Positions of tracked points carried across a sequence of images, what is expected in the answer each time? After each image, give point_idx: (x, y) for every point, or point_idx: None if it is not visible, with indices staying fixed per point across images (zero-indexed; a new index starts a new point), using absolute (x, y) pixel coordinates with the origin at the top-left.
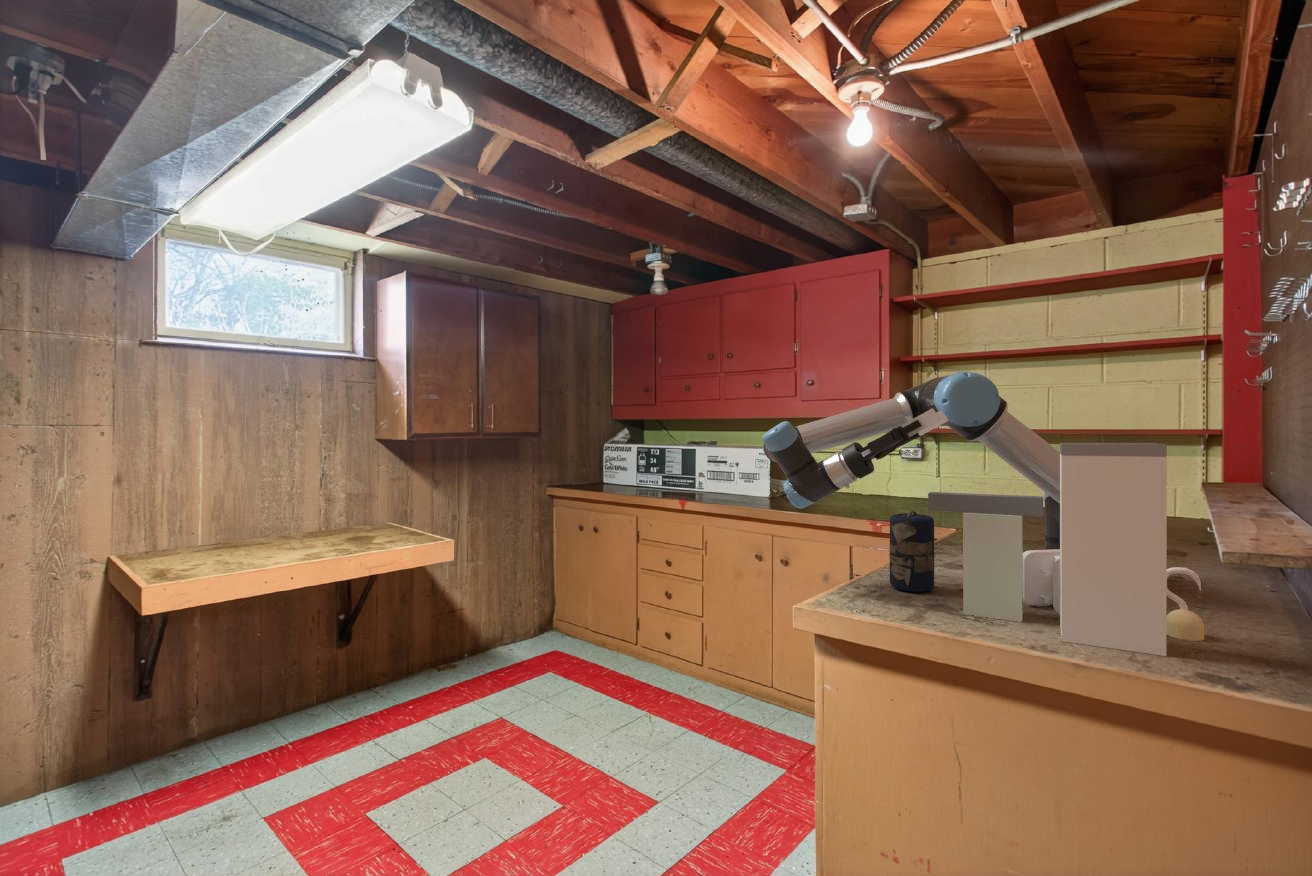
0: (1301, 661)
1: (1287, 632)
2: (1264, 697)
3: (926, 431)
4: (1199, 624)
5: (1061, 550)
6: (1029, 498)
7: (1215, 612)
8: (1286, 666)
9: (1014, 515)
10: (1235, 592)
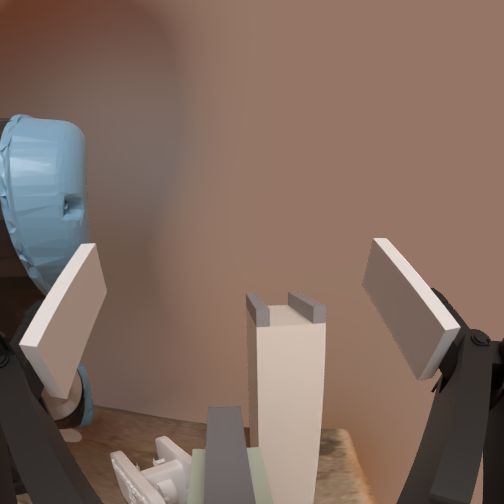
0: (244, 427)
1: (171, 422)
2: (340, 435)
3: (77, 363)
4: None
5: (312, 442)
6: (241, 416)
7: (127, 436)
8: None
9: (248, 454)
10: None
